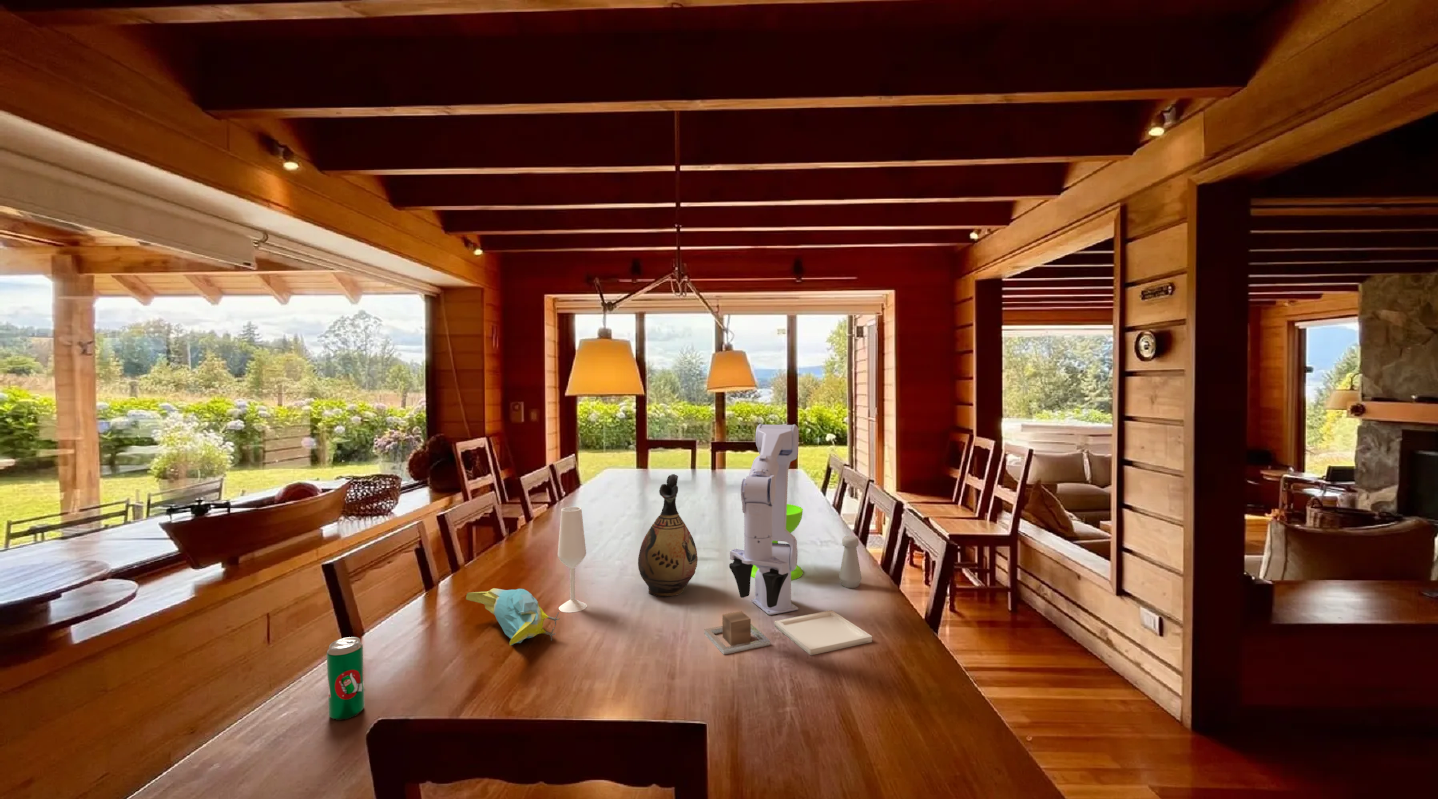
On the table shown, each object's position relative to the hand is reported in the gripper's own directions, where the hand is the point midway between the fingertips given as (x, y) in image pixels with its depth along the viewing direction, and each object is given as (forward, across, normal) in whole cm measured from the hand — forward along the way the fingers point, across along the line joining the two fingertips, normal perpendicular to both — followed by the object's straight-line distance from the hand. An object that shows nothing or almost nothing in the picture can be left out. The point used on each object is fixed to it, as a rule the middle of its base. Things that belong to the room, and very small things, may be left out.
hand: (758, 601), depth 121 cm
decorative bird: (+10, -41, -37) cm, 56 cm away
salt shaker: (+9, -7, +44) cm, 45 cm away
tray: (+9, +5, +15) cm, 18 cm away
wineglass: (+9, -29, +38) cm, 49 cm away
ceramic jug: (+9, -39, +8) cm, 41 cm away
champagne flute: (+10, -46, -16) cm, 50 cm away
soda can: (+11, -32, -66) cm, 74 cm away
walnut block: (+10, -6, 0) cm, 11 cm away
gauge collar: (+10, -6, 0) cm, 11 cm away
